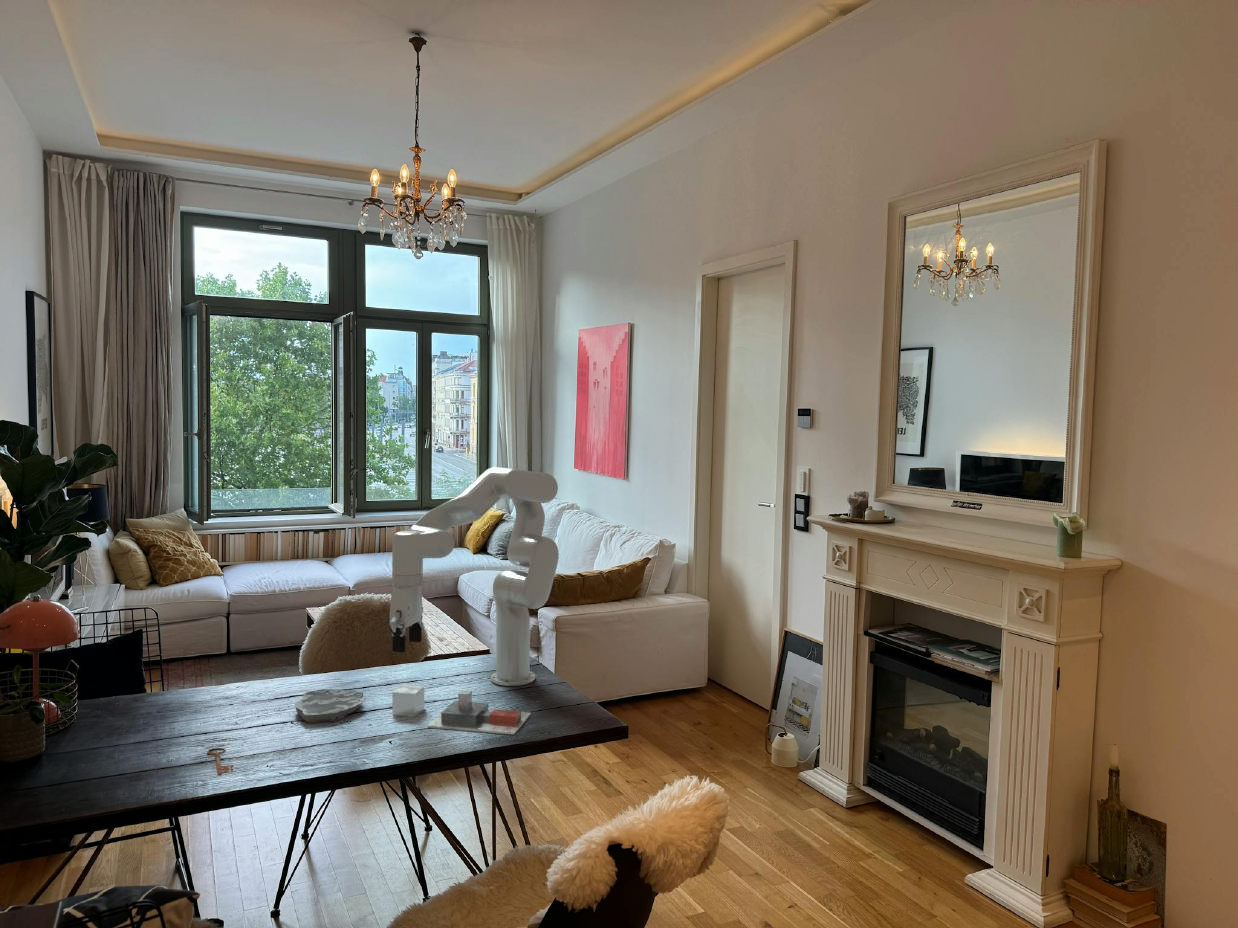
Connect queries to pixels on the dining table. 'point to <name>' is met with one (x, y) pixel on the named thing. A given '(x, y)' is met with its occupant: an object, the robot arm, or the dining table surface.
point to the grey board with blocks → (478, 717)
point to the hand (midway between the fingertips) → (407, 646)
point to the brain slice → (328, 704)
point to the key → (217, 757)
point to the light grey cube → (408, 700)
